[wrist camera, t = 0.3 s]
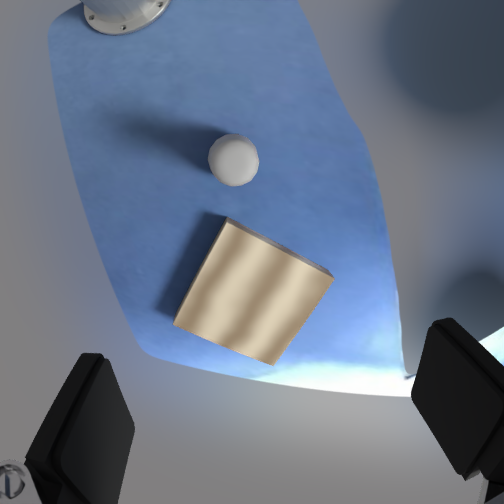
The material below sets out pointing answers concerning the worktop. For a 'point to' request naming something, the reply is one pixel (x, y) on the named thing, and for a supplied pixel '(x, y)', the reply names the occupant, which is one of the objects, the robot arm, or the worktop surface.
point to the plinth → (251, 294)
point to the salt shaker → (233, 159)
